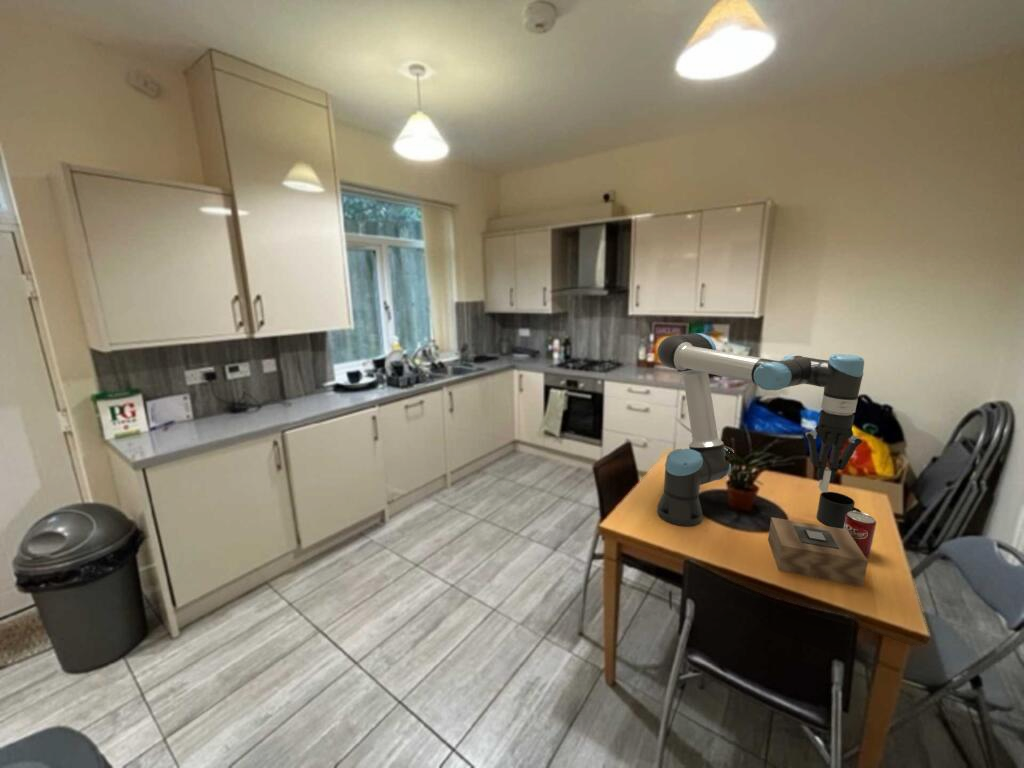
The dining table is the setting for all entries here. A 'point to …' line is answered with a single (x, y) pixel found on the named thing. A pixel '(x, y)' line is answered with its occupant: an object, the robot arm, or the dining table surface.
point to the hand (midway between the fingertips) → (822, 489)
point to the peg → (815, 536)
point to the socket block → (817, 552)
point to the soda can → (861, 529)
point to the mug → (834, 508)
